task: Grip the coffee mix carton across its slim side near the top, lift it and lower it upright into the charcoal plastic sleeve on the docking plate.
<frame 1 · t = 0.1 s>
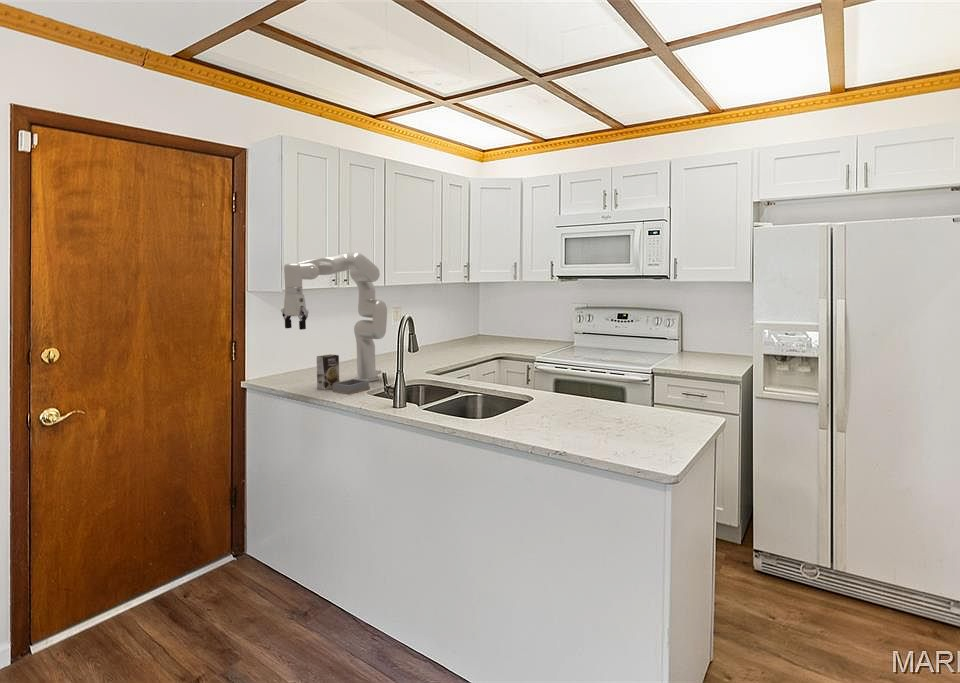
hand: (295, 328, 258), 31 cm above the worktop, fingers open, 9 cm apart
coffee box: (328, 388, 280), on the worktop
dock: (351, 390, 273), on the worktop
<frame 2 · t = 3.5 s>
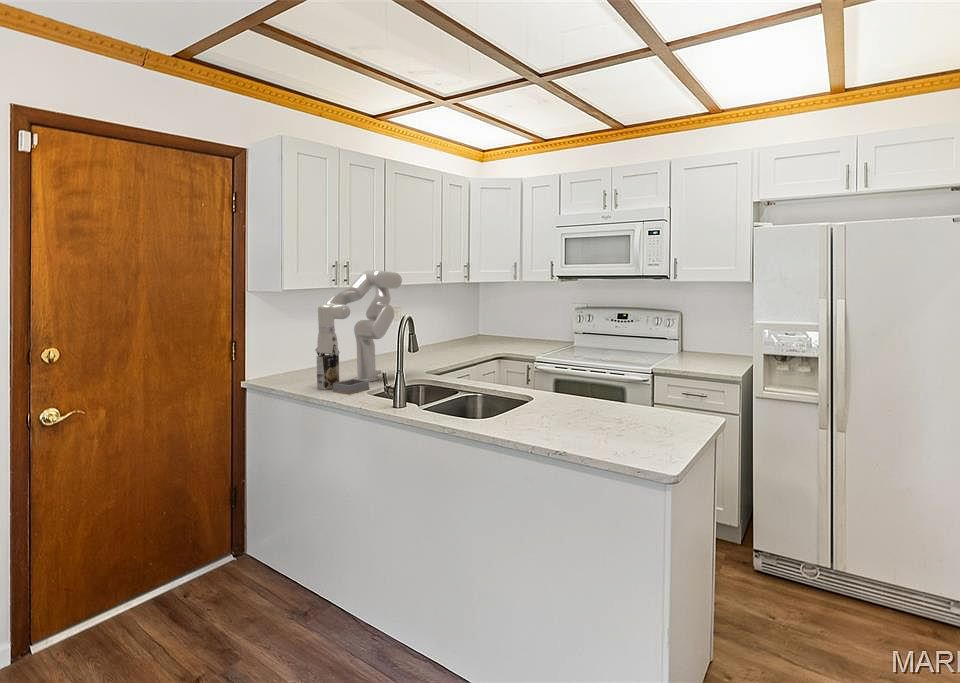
hand: (327, 366, 278), 11 cm above the worktop, fingers closed on coffee box, 6 cm apart
coffee box: (328, 388, 280), on the worktop, touching gripper
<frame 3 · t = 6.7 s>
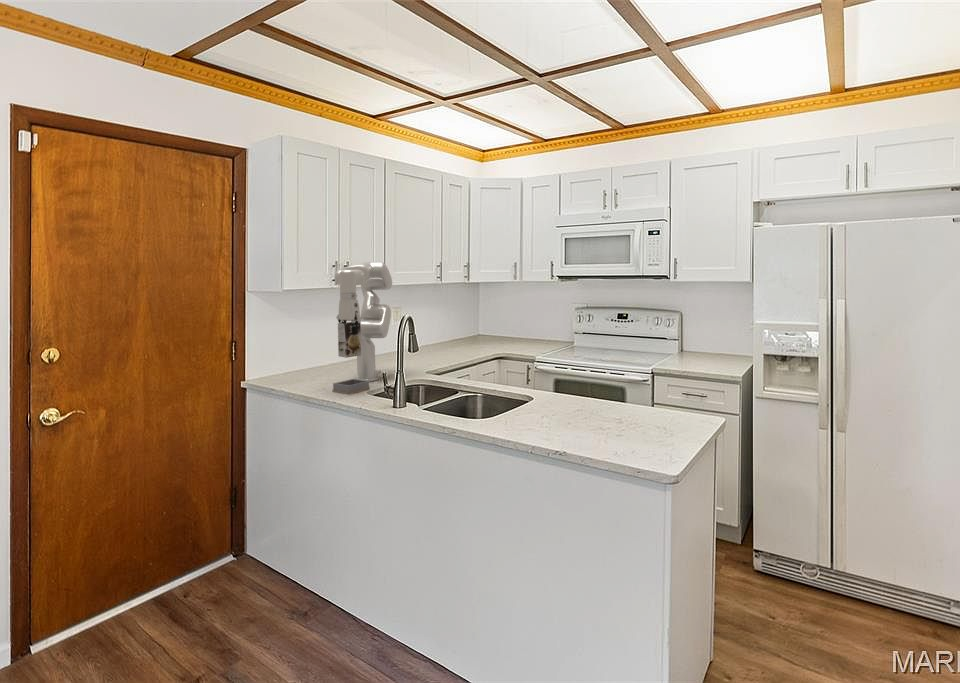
hand: (349, 333, 270), 27 cm above the worktop, fingers closed on coffee box, 6 cm apart
coffee box: (350, 356, 271), point 17 cm above the worktop, touching gripper
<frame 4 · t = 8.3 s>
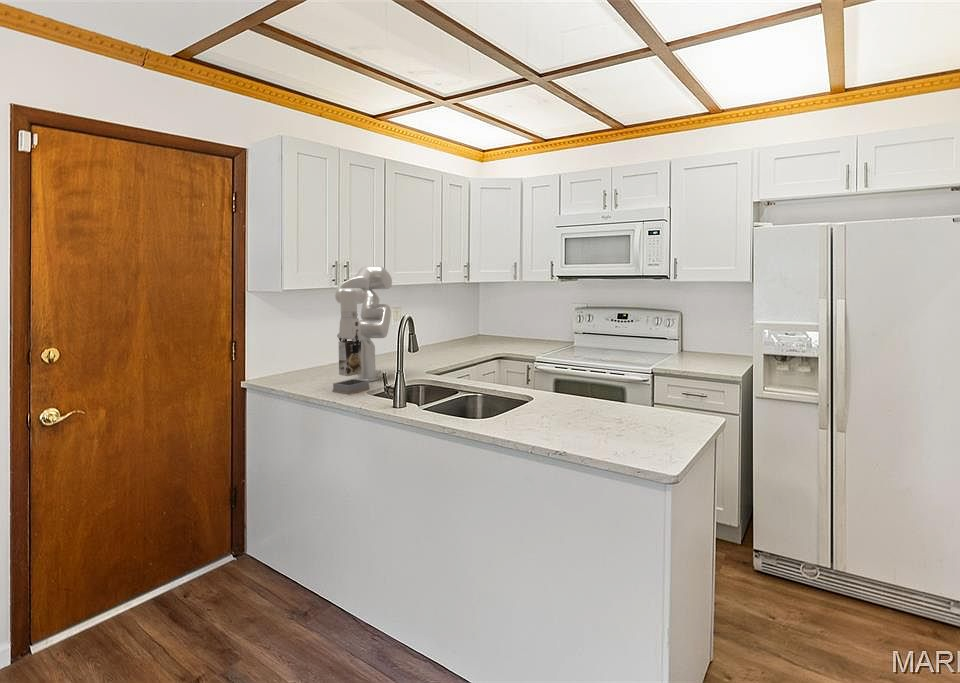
hand: (350, 352, 271), 19 cm above the worktop, fingers closed on coffee box, 6 cm apart
coffee box: (350, 374, 272), point 8 cm above the worktop, touching gripper
when the fingers open (13 cm above the worktop, at t = 9.9 s): coffee box drops 1 cm, resting on dock.
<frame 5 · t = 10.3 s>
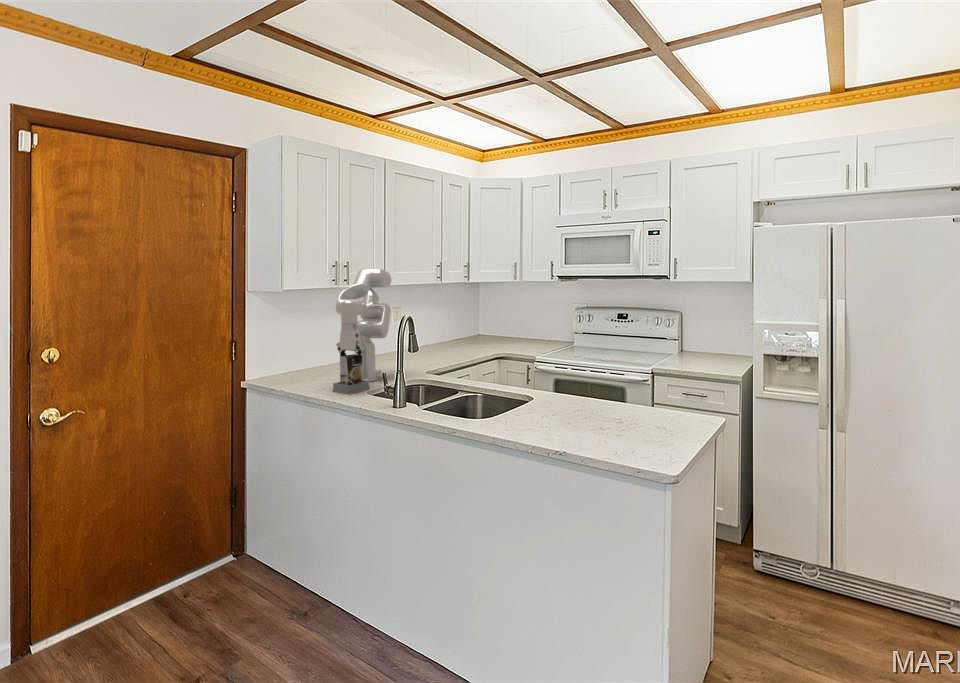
hand: (350, 362, 271), 14 cm above the worktop, fingers open, 9 cm apart
coffee box: (352, 388, 273), point 1 cm above the worktop, touching dock
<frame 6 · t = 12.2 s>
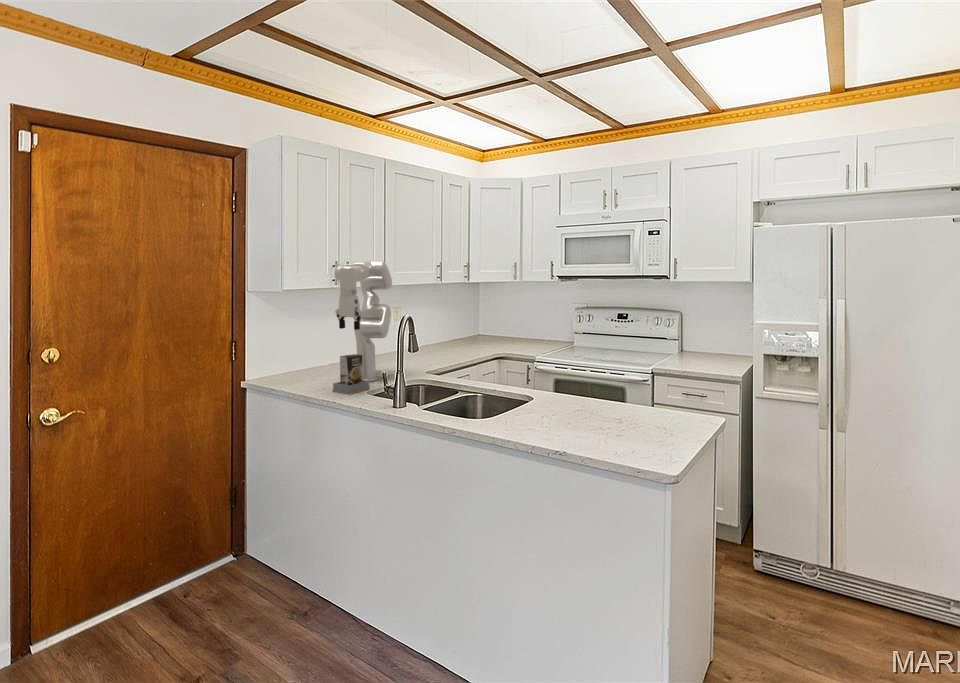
hand: (349, 328, 270), 30 cm above the worktop, fingers open, 9 cm apart
nothing on the worktop moved.
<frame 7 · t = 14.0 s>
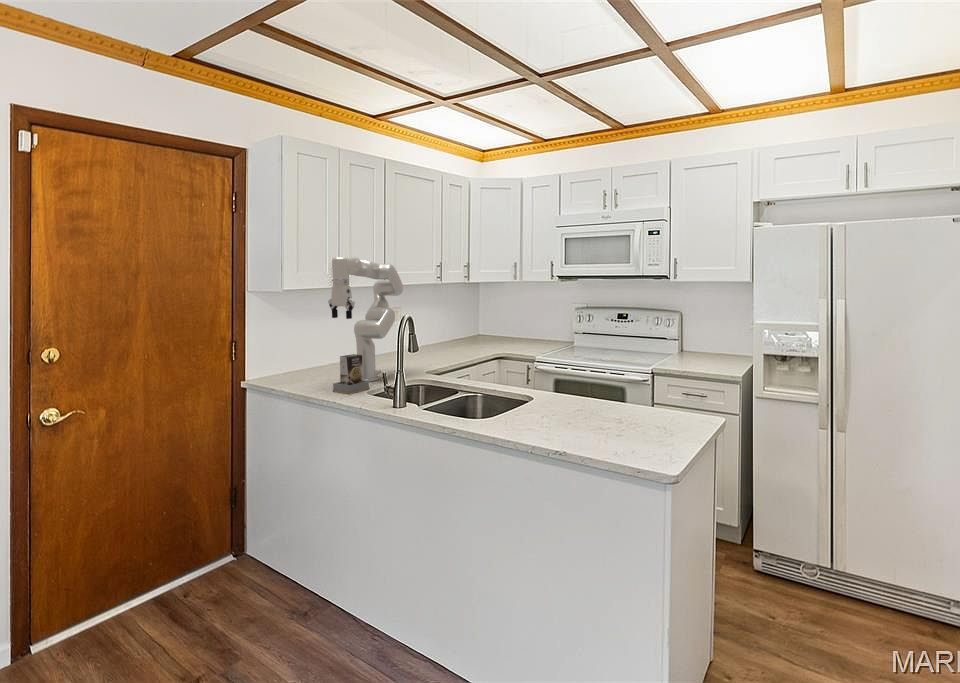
hand: (341, 318, 276), 34 cm above the worktop, fingers open, 9 cm apart
nothing on the worktop moved.
at the end: coffee box 0.4 cm off-centre on the dock, point 0.8 cm above the dock's base; coffee box tilted 0°; the gripper is holding nothing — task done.
